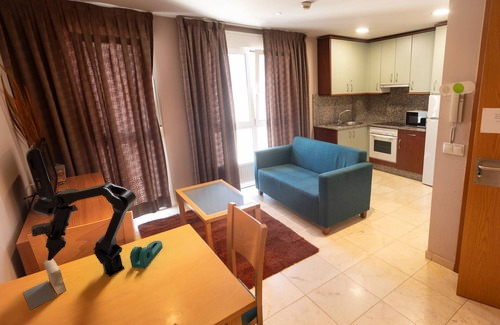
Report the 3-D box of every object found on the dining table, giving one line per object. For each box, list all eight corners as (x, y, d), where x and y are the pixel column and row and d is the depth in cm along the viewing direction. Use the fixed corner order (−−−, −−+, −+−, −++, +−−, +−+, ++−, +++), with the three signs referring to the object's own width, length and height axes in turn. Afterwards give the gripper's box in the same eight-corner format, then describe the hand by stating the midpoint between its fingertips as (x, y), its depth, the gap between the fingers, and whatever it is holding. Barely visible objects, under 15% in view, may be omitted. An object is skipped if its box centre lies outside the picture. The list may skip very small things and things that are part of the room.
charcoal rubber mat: (47, 280, 108) (47, 280, 108) (56, 296, 100) (56, 296, 99) (23, 292, 103) (23, 291, 103) (30, 310, 94) (30, 309, 94)
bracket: (145, 268, 113) (142, 253, 111) (131, 267, 114) (128, 252, 112) (165, 244, 130) (162, 231, 128) (152, 244, 131) (150, 230, 129)
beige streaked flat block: (58, 277, 110) (51, 257, 108) (66, 290, 103) (60, 269, 100) (49, 281, 108) (43, 261, 105) (57, 294, 101) (50, 273, 98)
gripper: (37, 209, 108) (25, 245, 108) (35, 224, 94) (21, 266, 93) (68, 213, 115) (57, 246, 115) (71, 227, 101) (58, 266, 100)
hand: (49, 255), depth 106 cm, fingers open, 9 cm apart
